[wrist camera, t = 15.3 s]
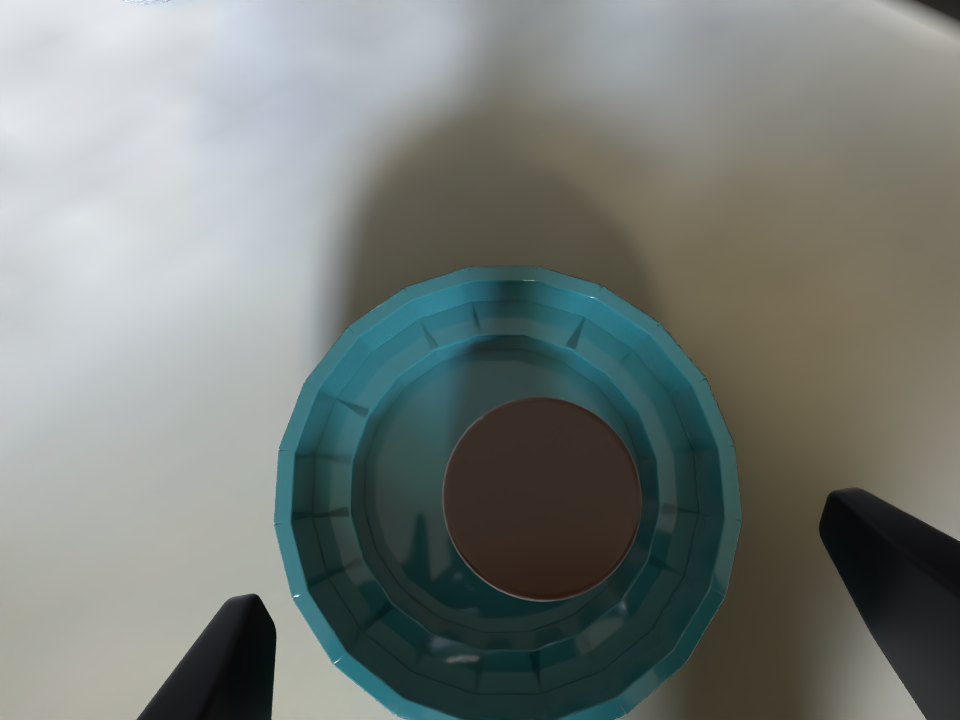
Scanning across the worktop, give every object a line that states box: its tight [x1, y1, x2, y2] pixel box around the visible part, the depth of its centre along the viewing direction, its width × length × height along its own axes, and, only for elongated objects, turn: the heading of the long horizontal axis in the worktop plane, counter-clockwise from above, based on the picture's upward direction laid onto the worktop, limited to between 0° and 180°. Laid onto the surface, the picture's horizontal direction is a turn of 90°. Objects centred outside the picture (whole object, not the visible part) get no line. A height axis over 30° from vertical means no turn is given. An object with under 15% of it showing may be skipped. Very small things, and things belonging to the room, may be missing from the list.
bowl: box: [274, 266, 742, 720], centre depth 18 cm, size 13×13×4 cm
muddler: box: [442, 396, 642, 602], centre depth 13 cm, size 4×4×14 cm
